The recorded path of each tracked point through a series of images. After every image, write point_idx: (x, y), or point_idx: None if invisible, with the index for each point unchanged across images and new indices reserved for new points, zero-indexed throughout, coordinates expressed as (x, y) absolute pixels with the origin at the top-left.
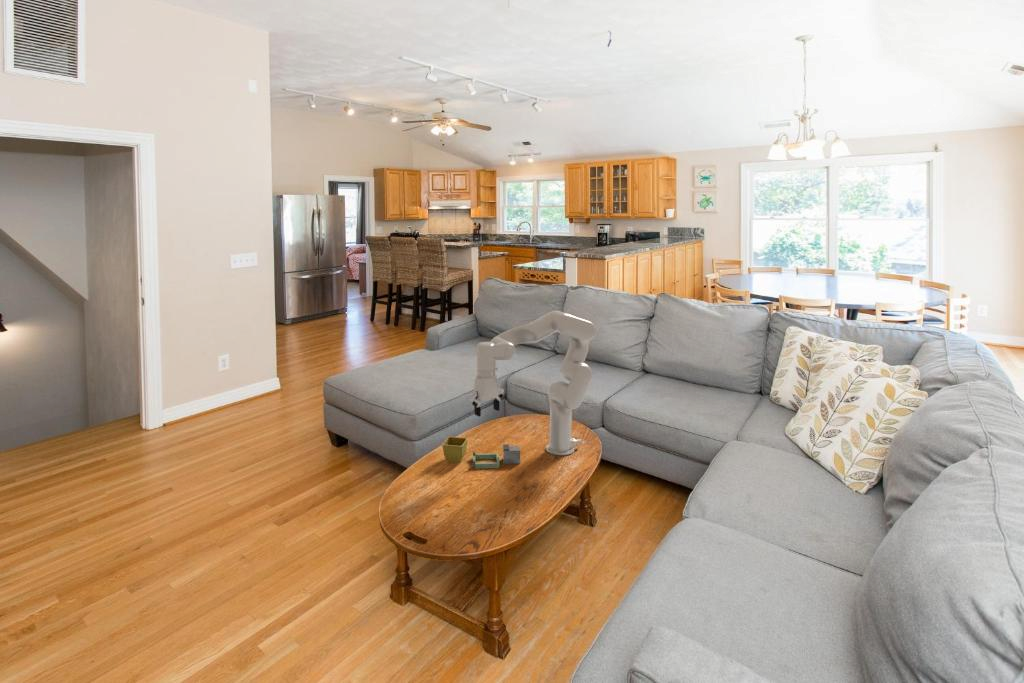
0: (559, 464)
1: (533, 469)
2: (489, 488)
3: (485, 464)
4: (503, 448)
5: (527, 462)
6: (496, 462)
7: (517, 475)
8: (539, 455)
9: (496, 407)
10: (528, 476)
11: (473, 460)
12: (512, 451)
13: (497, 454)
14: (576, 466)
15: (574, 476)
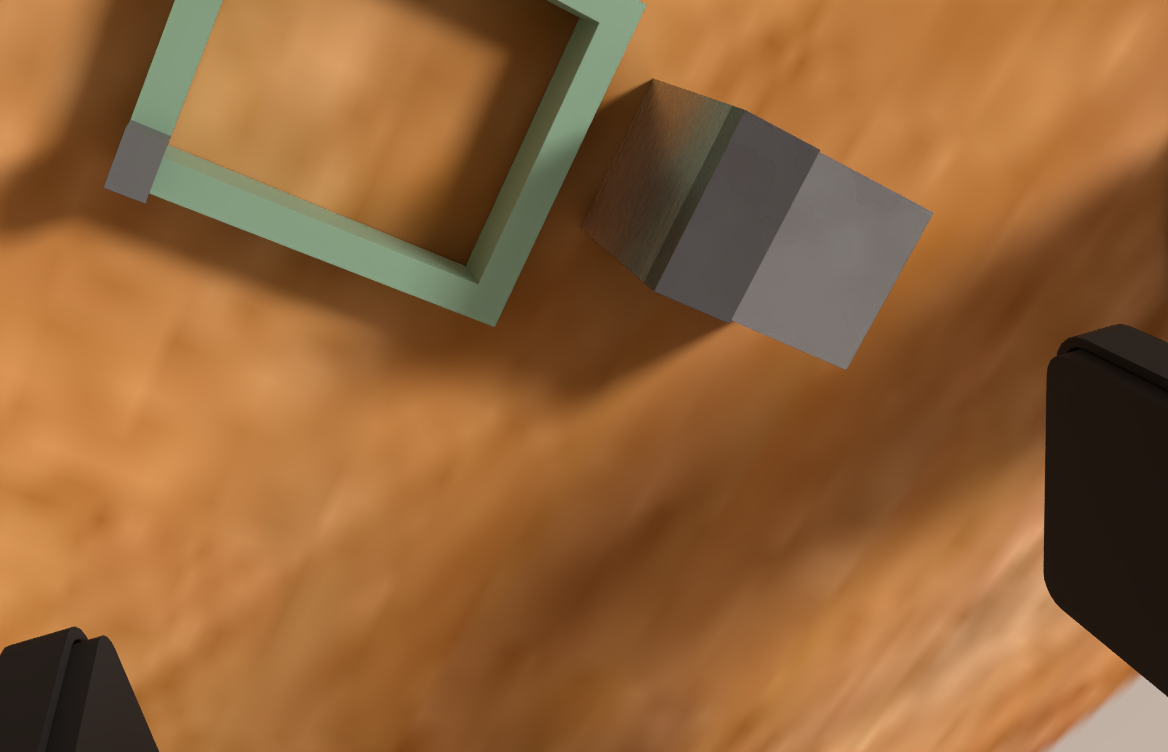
0: None
1: (792, 496)
2: None
3: (303, 252)
4: (669, 260)
5: None
6: (470, 282)
7: (571, 559)
8: (1059, 207)
9: (1131, 585)
10: (658, 616)
11: (126, 155)
12: (751, 328)
13: (611, 39)
14: None
15: (992, 739)
